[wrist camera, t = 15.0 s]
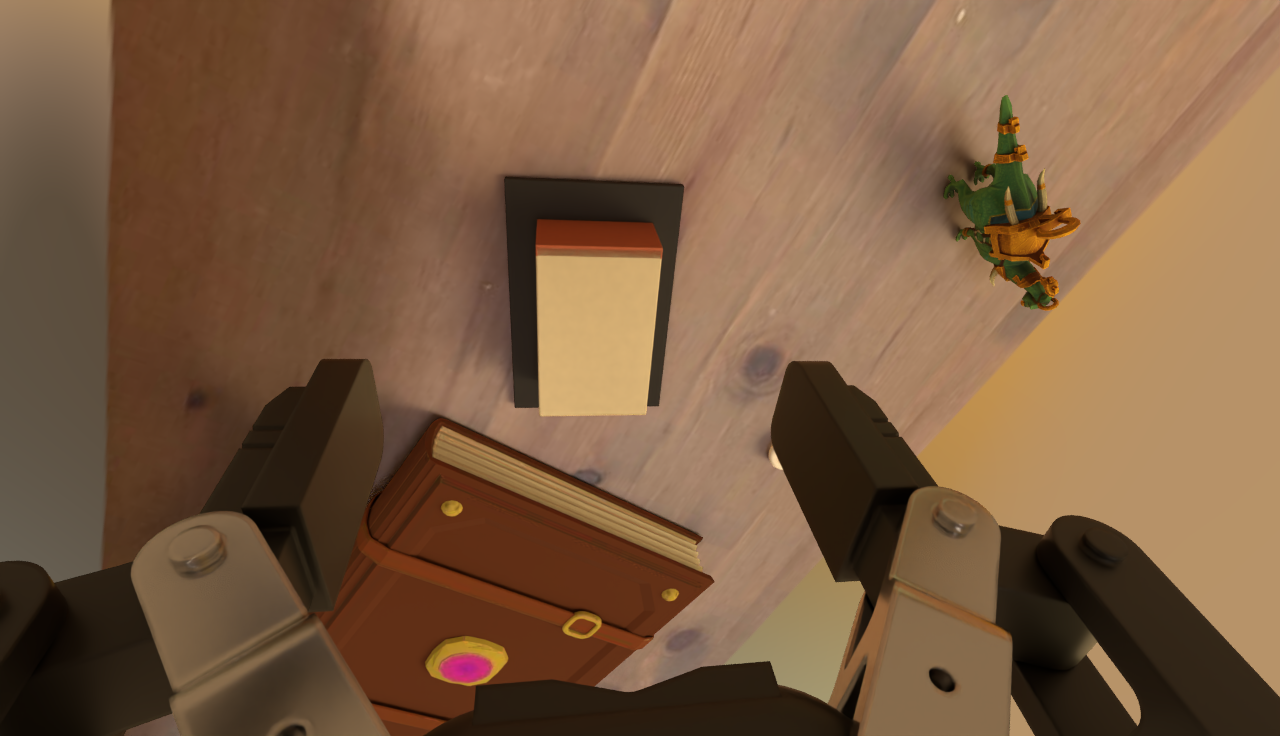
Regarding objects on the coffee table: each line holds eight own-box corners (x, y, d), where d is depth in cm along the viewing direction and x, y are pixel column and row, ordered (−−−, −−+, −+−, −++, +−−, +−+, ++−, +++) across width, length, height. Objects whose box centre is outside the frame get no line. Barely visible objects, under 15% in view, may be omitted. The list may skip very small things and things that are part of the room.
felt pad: (504, 176, 30) (504, 178, 29) (683, 184, 31) (684, 186, 31) (515, 404, 37) (514, 407, 37) (657, 402, 39) (658, 406, 38)
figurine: (956, 283, 36) (1048, 355, 30) (914, 94, 30) (1020, 130, 23) (1006, 260, 36) (1111, 327, 29) (975, 62, 30) (1100, 89, 23)
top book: (537, 218, 31) (535, 244, 28) (653, 222, 32) (663, 247, 29) (540, 381, 36) (539, 417, 33) (639, 380, 37) (646, 415, 34)
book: (704, 536, 46) (719, 591, 42) (492, 731, 58) (488, 789, 54) (429, 408, 37) (413, 464, 33) (242, 673, 49) (213, 738, 44)
